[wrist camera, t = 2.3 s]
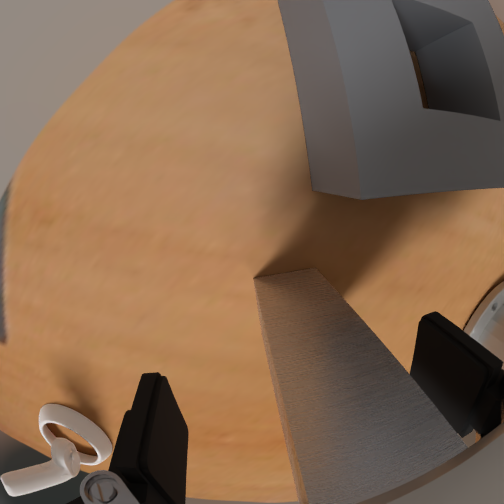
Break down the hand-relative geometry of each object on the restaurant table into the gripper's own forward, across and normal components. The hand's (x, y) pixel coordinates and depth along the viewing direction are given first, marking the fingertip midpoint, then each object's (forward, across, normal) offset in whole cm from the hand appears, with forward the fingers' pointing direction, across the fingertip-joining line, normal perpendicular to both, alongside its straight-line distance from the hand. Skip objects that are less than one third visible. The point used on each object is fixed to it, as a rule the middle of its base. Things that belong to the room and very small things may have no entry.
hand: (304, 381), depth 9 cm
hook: (+8, +19, +12) cm, 24 cm away
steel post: (+7, -1, 0) cm, 7 cm away
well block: (+7, -9, -12) cm, 16 cm away
